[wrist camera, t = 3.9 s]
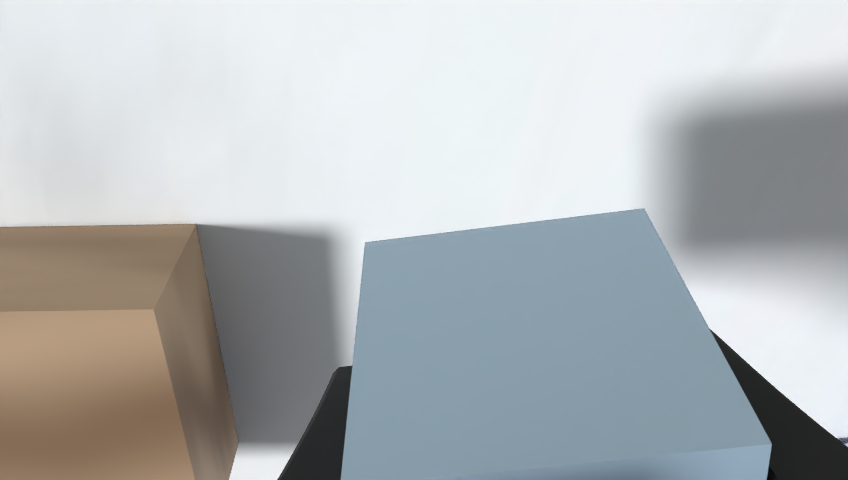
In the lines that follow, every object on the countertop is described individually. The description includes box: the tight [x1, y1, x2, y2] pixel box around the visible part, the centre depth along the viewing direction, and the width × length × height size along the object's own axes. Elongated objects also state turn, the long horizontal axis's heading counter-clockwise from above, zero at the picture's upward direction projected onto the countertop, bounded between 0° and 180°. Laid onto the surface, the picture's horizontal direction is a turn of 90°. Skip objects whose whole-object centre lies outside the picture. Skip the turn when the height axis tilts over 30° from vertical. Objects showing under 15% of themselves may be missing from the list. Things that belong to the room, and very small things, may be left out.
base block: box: [0, 224, 238, 480], centre depth 20 cm, size 8×8×4 cm
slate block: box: [341, 209, 772, 480], centre depth 11 cm, size 4×4×5 cm
